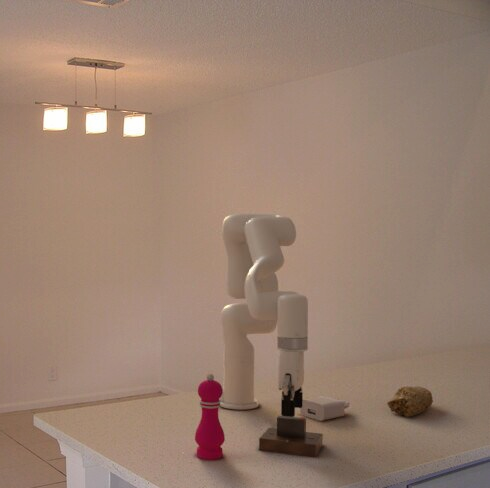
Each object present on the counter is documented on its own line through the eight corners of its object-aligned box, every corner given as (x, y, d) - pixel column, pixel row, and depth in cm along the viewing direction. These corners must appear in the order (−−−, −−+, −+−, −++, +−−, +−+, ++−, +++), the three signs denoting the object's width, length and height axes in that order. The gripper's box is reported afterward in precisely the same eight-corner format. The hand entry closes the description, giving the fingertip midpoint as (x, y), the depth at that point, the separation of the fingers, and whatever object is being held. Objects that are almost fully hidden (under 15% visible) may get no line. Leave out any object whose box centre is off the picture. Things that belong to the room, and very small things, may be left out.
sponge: (419, 424, 209) (448, 398, 223) (413, 398, 208) (441, 374, 222) (379, 423, 218) (409, 398, 232) (372, 398, 218) (402, 375, 232)
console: (258, 450, 180) (258, 438, 180) (269, 438, 190) (269, 426, 190) (315, 457, 175) (315, 444, 175) (322, 444, 185) (323, 432, 185)
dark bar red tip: (276, 435, 183) (276, 416, 183) (278, 432, 185) (278, 414, 185) (304, 438, 180) (304, 419, 180) (306, 436, 182) (306, 417, 182)
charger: (358, 414, 215) (323, 421, 206) (335, 407, 223) (300, 414, 214) (358, 398, 215) (323, 405, 206) (335, 392, 222) (300, 398, 214)
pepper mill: (193, 451, 179) (193, 370, 179) (221, 450, 180) (222, 370, 179) (196, 460, 172) (197, 377, 171) (226, 460, 173) (227, 376, 172)
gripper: (285, 338, 191) (284, 402, 191) (269, 347, 175) (269, 418, 175) (313, 339, 188) (313, 405, 189) (300, 349, 172) (300, 421, 172)
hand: (292, 411), depth 182 cm, fingers open, 9 cm apart
